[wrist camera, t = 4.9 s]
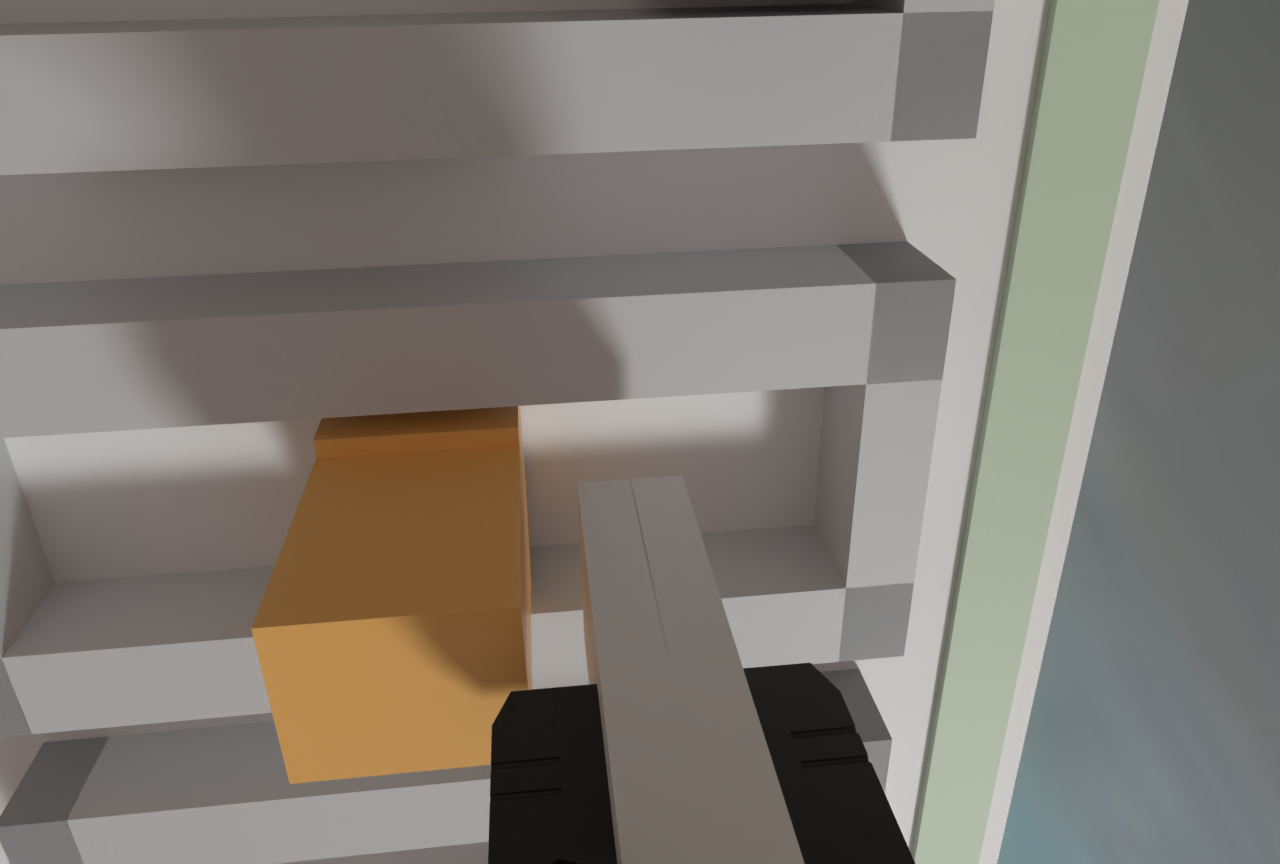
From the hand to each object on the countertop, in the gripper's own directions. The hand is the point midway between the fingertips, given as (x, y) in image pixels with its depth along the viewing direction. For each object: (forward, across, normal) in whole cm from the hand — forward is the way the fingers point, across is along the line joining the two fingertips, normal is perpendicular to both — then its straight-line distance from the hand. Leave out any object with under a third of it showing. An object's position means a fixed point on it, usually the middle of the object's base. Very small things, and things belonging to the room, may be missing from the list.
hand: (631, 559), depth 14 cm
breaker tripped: (+3, -3, 0) cm, 4 cm away
